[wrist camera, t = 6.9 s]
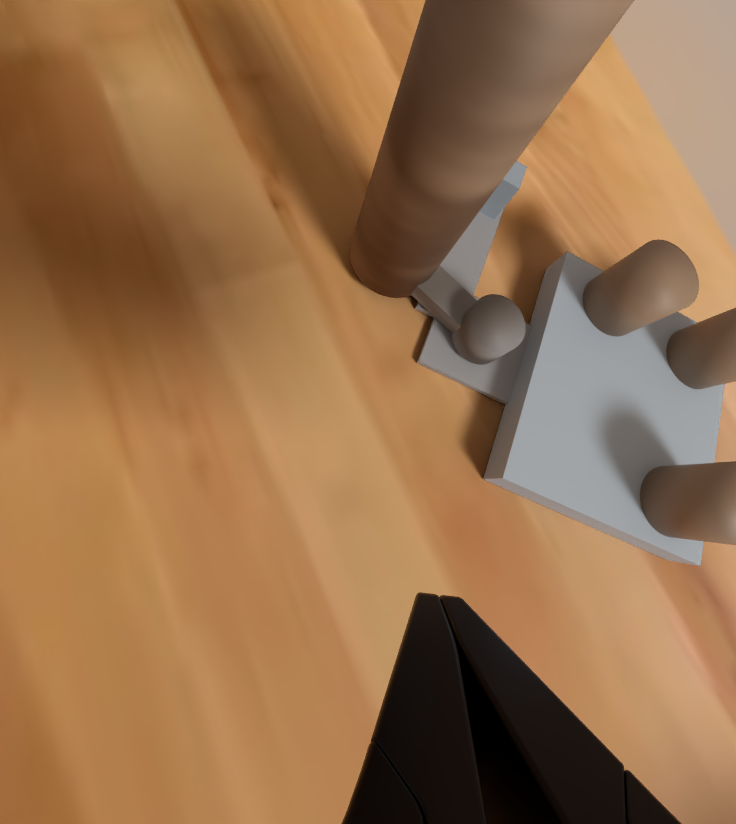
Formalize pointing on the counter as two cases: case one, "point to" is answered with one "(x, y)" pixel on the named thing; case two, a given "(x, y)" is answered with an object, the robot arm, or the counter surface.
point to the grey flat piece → (607, 393)
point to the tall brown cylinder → (467, 147)
